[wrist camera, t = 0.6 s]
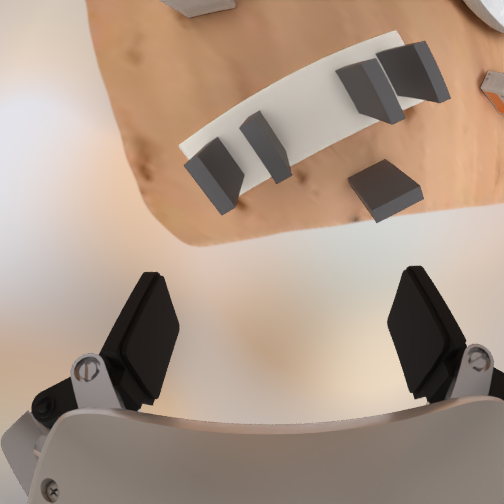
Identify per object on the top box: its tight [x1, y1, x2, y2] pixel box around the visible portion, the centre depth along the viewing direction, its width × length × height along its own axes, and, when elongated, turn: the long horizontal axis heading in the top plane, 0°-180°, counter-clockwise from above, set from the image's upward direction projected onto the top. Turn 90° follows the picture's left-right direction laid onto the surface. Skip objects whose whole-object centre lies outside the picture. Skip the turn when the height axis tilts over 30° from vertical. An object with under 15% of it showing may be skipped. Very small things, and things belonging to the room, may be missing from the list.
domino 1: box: [184, 137, 245, 215], centre depth 29 cm, size 2×6×10 cm, turn 33°
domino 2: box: [239, 110, 292, 184], centre depth 26 cm, size 2×6×10 cm, turn 33°
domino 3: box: [376, 41, 451, 103], centre depth 20 cm, size 2×6×10 cm, turn 33°
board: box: [178, 30, 425, 196], centre depth 29 cm, size 32×10×1 cm, turn 123°
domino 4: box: [335, 58, 405, 125], centre depth 22 cm, size 2×6×10 cm, turn 33°
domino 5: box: [348, 159, 424, 223], centre depth 29 cm, size 2×6×10 cm, turn 123°
